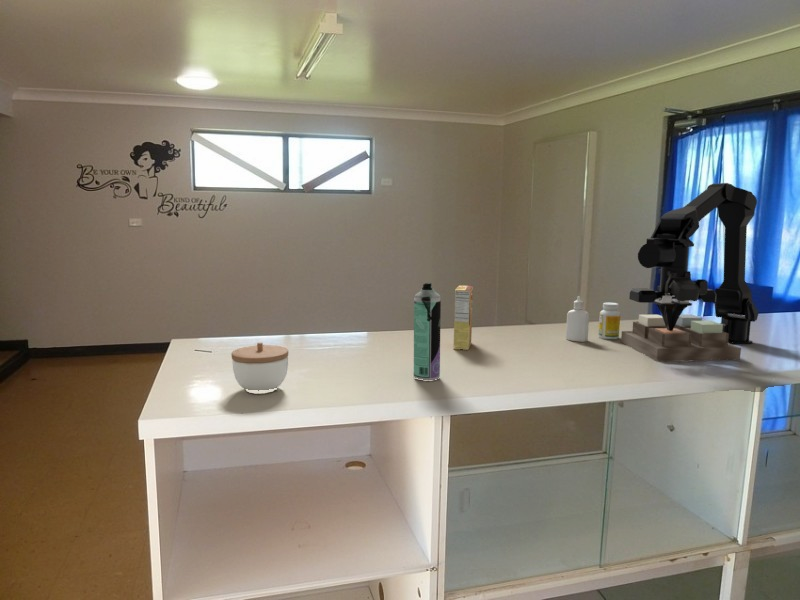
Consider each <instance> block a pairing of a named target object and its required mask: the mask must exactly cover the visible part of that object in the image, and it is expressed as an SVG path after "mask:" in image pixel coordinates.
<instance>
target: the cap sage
mask: <svg viewBox="0 0 800 600" xmlns="http://www.w3.org/2000/svg"><path fill="white" fill-rule="evenodd" d="M720 323H721V322H720ZM720 323H719V322H716V321H713V320H702V321H691V330H694V331H696V332H699V333H722V329H723V324H720Z"/></svg>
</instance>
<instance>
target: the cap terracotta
mask: <svg viewBox="0 0 800 600" xmlns="http://www.w3.org/2000/svg"><path fill="white" fill-rule="evenodd" d="M655 330H657V331H659V332H661V333H664V334H671V333H685V332H683V331H681V330H678V329H675V328H674V329H673V330H672V331H669V330H667V328H655Z"/></svg>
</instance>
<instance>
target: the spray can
mask: <svg viewBox="0 0 800 600" xmlns="http://www.w3.org/2000/svg"><path fill="white" fill-rule="evenodd" d="M432 286H433V285H432V283H431V282H426V283H423V284H422V288H421V289H420V291H418V292H417V293H416V294H414V298H413V378H414V377H415V378H418V379H423V380H435V379H438V378H439V377H440V376H441V374H440V373H441V314H442V313H441V312H442V311H441V306H442V305H441V304H442V303H441V294H439V293H438V292H436V291H435V289H434V288H433V287H432ZM440 378H441V377H440ZM440 378H439V379H440Z"/></svg>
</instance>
